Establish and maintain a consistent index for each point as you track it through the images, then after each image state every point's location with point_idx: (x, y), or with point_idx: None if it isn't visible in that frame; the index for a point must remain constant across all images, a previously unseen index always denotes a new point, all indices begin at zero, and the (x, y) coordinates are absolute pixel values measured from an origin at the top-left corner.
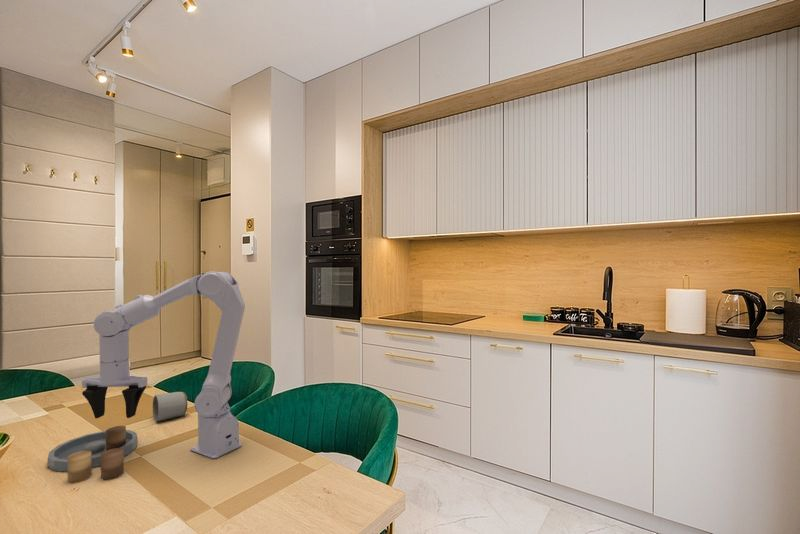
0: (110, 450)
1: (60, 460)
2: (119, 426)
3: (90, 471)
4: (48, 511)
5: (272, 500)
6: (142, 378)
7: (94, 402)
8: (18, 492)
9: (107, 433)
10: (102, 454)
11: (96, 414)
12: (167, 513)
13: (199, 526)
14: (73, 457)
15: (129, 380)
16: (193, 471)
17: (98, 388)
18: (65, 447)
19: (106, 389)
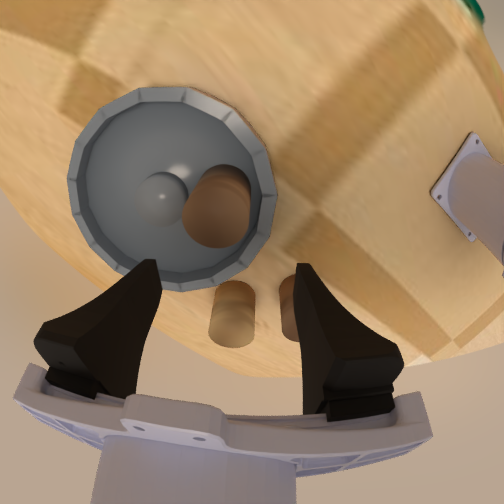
0: (294, 320)
1: None
2: (208, 194)
3: (254, 301)
4: (266, 360)
5: (494, 323)
6: (406, 450)
7: (140, 354)
8: (168, 325)
9: (207, 244)
10: (287, 335)
11: (156, 304)
12: (414, 353)
13: (439, 359)
14: (227, 342)
15: (337, 470)
16: (441, 277)
17: (113, 395)
18: (84, 200)
19: (94, 332)
